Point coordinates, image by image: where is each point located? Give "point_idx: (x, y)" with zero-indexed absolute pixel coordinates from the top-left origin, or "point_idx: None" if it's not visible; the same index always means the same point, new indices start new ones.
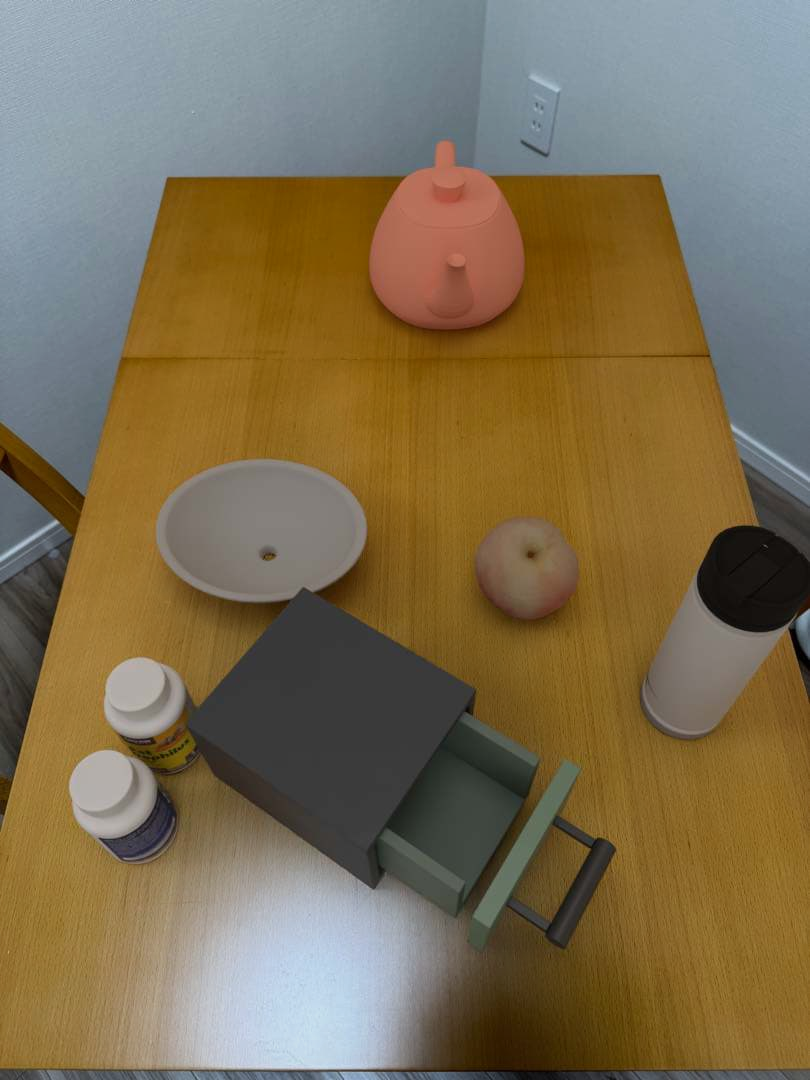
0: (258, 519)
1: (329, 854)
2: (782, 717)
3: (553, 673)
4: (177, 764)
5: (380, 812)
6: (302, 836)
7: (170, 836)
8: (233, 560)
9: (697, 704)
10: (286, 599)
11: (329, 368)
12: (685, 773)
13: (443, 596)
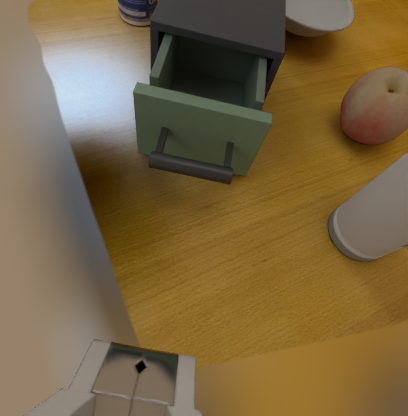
0: (307, 10)
1: None
2: (394, 307)
3: (321, 157)
4: None
5: (177, 22)
6: None
7: (136, 18)
8: None
9: (369, 208)
10: None
11: (405, 25)
12: (310, 247)
13: (326, 96)
